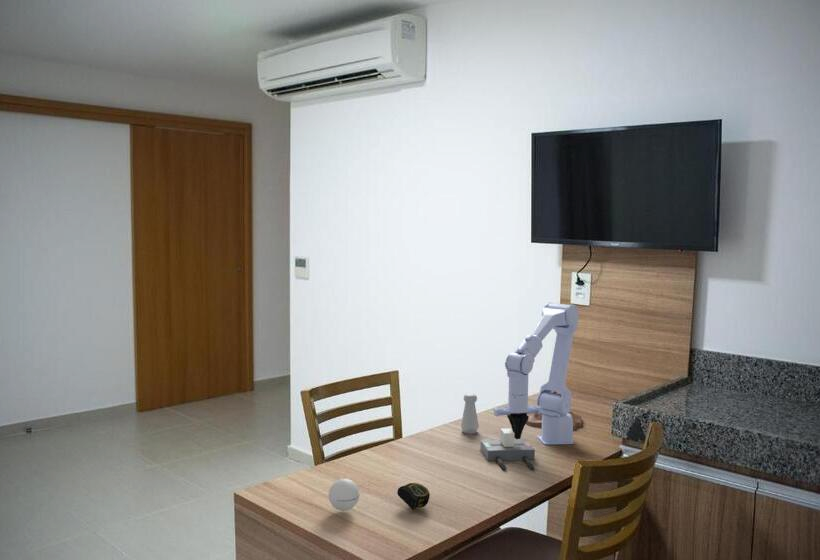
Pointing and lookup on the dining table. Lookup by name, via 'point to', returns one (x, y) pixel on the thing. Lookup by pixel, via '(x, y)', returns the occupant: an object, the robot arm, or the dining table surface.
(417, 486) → the tape measure
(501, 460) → the dressed cords
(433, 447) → the dining table surface
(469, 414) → the salt shaker
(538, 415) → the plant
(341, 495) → the white oval body
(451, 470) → the dining table surface
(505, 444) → the breaker handle
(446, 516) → the dining table surface
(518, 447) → the breaker block
